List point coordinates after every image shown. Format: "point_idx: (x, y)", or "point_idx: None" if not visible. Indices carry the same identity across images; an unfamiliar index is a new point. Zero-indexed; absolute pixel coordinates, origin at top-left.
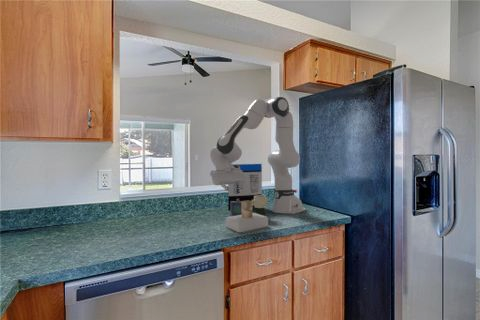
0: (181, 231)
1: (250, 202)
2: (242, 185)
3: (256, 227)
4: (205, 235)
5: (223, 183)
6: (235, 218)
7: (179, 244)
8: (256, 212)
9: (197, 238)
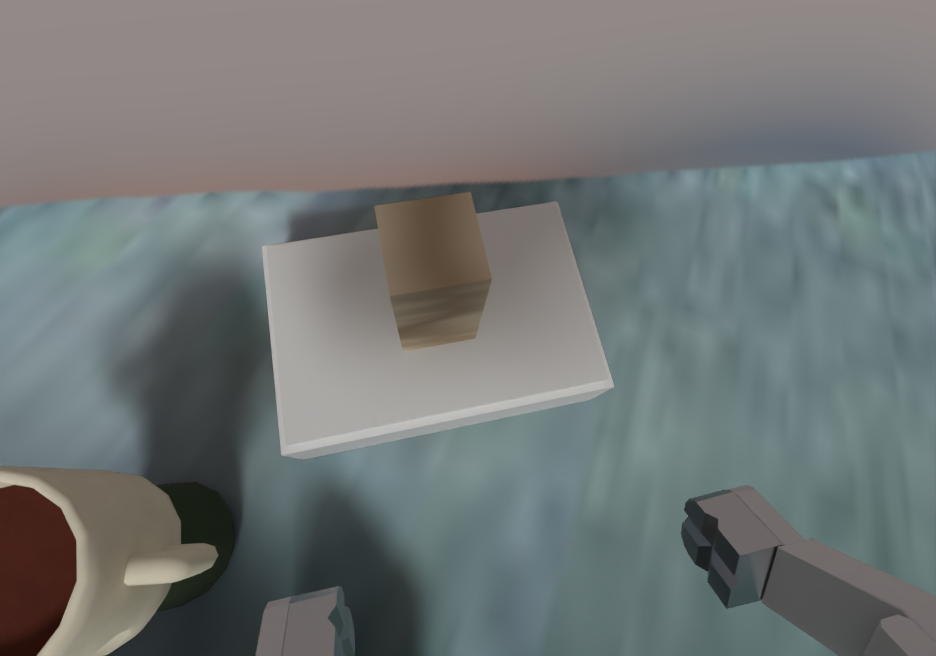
0: (919, 426)
1: (403, 207)
2: (260, 652)
3: None
4: (759, 272)
5: (923, 615)
6: (548, 303)
7: (901, 190)
8: (200, 535)
9: (808, 239)
